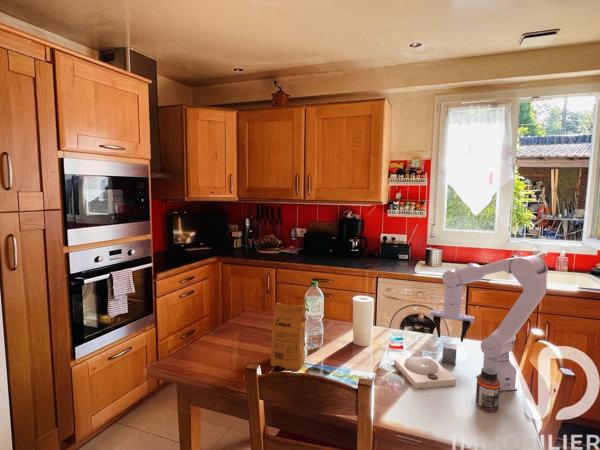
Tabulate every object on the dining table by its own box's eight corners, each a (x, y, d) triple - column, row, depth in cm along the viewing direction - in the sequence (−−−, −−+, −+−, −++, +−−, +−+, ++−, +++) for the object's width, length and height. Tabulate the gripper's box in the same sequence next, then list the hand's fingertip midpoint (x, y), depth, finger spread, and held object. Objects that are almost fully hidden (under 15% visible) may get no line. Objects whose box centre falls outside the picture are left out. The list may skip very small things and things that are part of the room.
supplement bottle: (478, 398, 108) (480, 363, 107) (500, 406, 105) (503, 369, 104) (472, 407, 104) (475, 370, 103) (495, 416, 100) (498, 377, 99)
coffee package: (276, 354, 135) (277, 297, 133) (308, 359, 131) (309, 301, 129) (266, 366, 126) (266, 306, 123) (299, 373, 122) (300, 310, 120)
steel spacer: (455, 360, 133) (456, 344, 132) (455, 365, 129) (456, 349, 128) (442, 357, 135) (443, 342, 134) (442, 362, 130) (443, 347, 130)
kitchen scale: (455, 385, 116) (456, 376, 115) (415, 388, 113) (416, 380, 113) (429, 361, 131) (430, 354, 131) (394, 363, 129) (394, 356, 129)
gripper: (474, 302, 130) (471, 338, 131) (432, 296, 136) (430, 330, 137) (475, 308, 124) (472, 345, 125) (430, 301, 129) (428, 337, 131)
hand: (450, 338), depth 131 cm, fingers open, 7 cm apart
